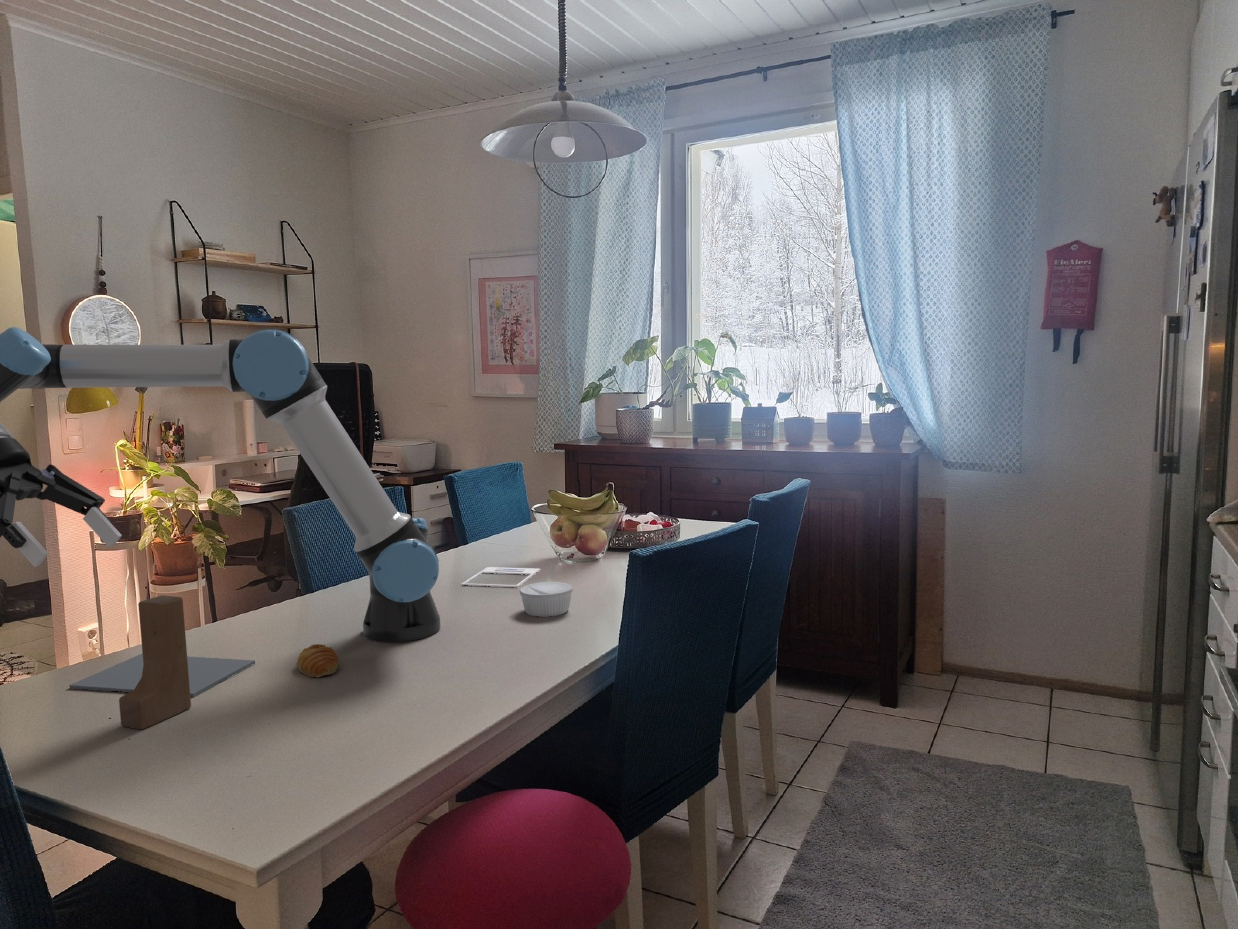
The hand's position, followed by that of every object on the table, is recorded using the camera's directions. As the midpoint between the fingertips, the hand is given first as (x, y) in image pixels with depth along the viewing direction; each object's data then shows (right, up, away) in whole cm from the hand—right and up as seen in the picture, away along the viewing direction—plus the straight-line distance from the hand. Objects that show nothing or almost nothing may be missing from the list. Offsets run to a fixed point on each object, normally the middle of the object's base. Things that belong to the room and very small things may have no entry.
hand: (80, 550), depth 129 cm
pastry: (+29, -24, +21) cm, 43 cm away
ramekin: (+67, -19, +54) cm, 88 cm away
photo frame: (+53, -16, +84) cm, 101 cm away
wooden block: (+11, -26, +1) cm, 28 cm away
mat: (+3, -24, +19) cm, 30 cm away
